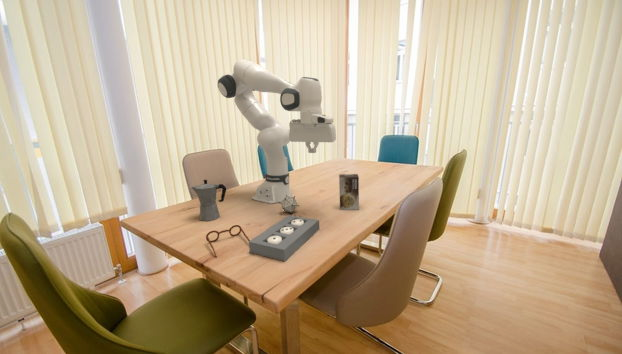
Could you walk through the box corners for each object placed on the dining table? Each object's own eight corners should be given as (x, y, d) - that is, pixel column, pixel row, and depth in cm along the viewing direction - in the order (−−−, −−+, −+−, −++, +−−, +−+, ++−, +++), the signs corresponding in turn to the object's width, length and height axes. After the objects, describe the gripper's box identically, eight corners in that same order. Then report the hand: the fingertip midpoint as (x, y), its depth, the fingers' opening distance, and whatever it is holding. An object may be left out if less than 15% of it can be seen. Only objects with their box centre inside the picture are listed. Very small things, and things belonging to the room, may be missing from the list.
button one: (265, 249, 91) (264, 240, 90) (273, 243, 95) (272, 234, 95) (277, 252, 89) (276, 242, 88) (284, 246, 93) (284, 236, 92)
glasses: (241, 234, 106) (240, 223, 105) (253, 247, 95) (252, 234, 94) (206, 244, 99) (204, 231, 98) (215, 259, 88) (213, 245, 87)
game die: (289, 221, 126) (279, 209, 119) (282, 210, 132) (273, 198, 126) (304, 210, 127) (296, 197, 120) (297, 199, 133) (289, 187, 126)
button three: (278, 239, 98) (277, 230, 97) (285, 234, 102) (284, 225, 102) (289, 242, 96) (289, 232, 95) (296, 236, 100) (295, 227, 99)
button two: (289, 231, 105) (289, 222, 104) (295, 226, 109) (295, 218, 108) (300, 233, 103) (299, 224, 102) (306, 228, 107) (305, 219, 106)
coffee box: (357, 205, 133) (358, 173, 129) (358, 210, 127) (359, 176, 123) (339, 205, 134) (339, 173, 130) (339, 210, 128) (339, 177, 124)
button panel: (249, 252, 91) (248, 241, 90) (289, 223, 114) (288, 215, 113) (284, 261, 85) (284, 249, 84) (319, 229, 108) (319, 219, 107)
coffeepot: (191, 222, 119) (185, 182, 115) (199, 214, 128) (194, 177, 124) (226, 220, 120) (222, 181, 115) (231, 213, 129) (227, 176, 125)
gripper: (285, 119, 111) (287, 153, 114) (331, 118, 102) (331, 154, 105) (292, 119, 117) (294, 150, 120) (337, 118, 108) (337, 152, 111)
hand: (312, 152), depth 113 cm, fingers closed
